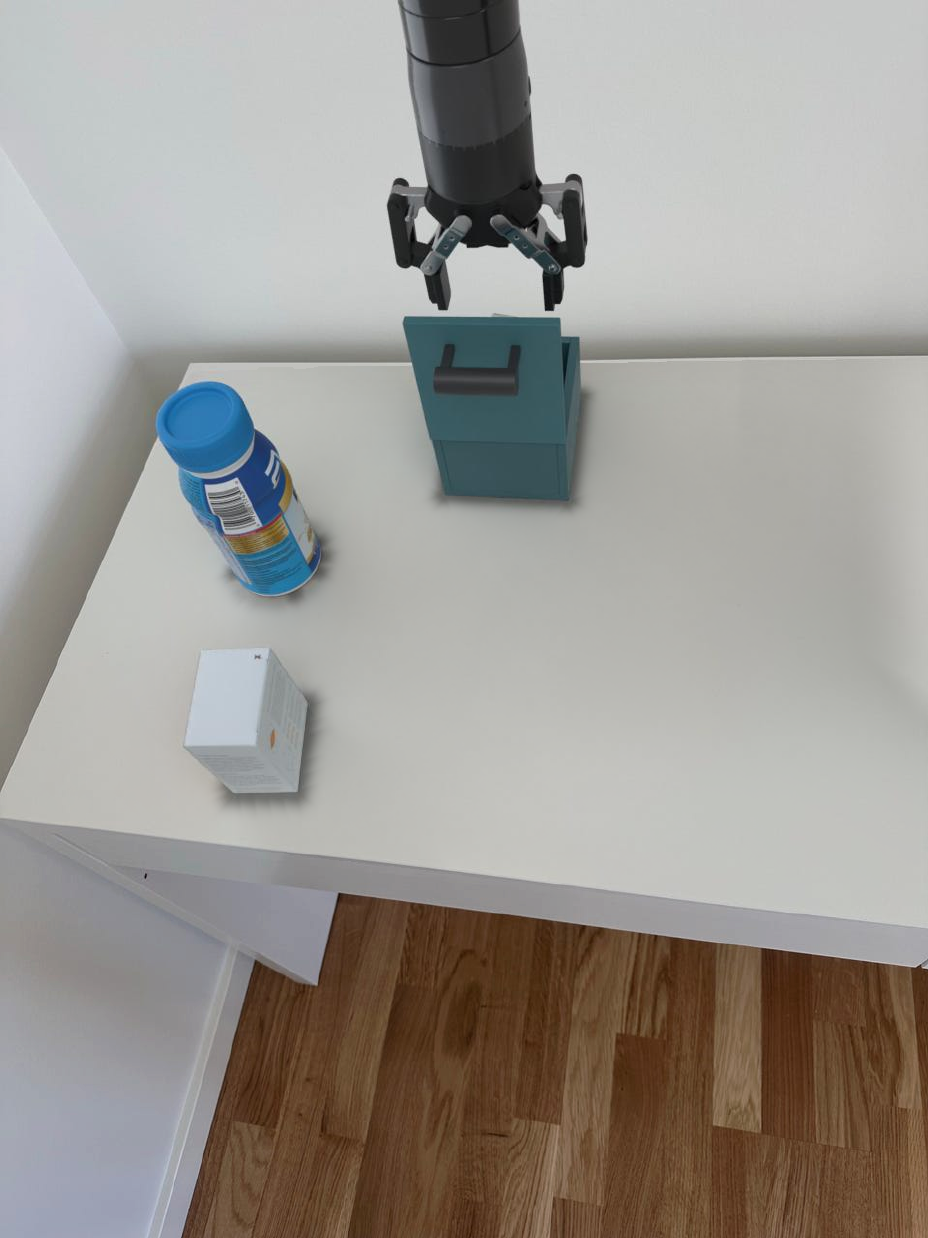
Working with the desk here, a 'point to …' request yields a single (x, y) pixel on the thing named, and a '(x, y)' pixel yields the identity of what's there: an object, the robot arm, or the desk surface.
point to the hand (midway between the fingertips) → (497, 303)
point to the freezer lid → (489, 377)
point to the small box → (247, 720)
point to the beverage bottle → (239, 488)
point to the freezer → (517, 453)
